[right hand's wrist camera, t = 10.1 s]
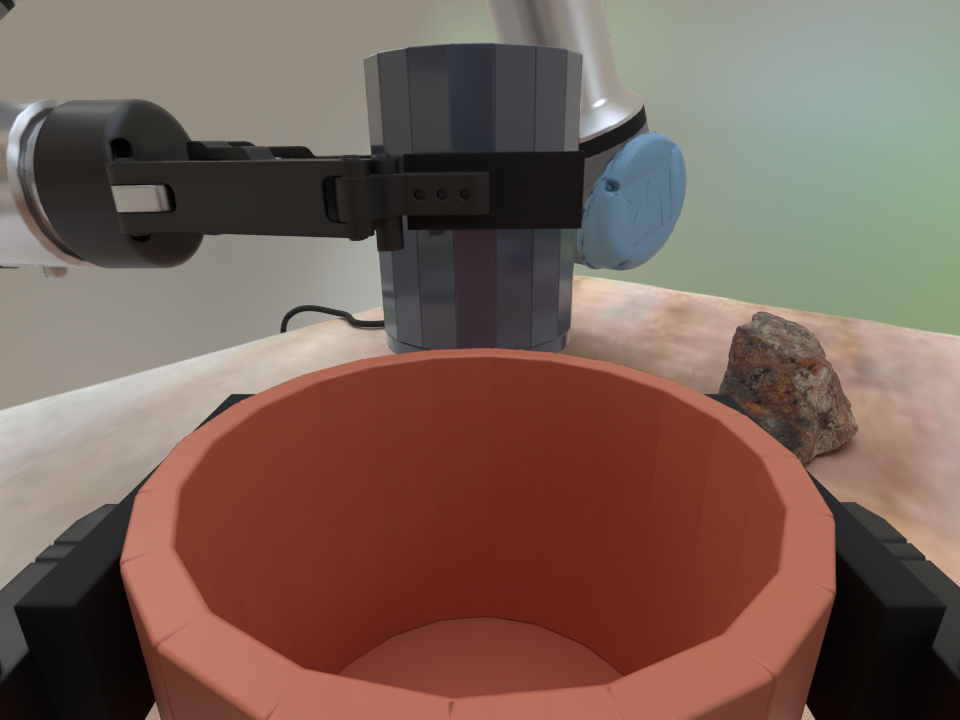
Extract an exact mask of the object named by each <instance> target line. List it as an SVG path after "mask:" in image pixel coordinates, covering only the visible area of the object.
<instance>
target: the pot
mask: <svg viewBox="0 0 960 720" xmlns="http://www.w3.org/2000/svg"><path fill="white" fill-rule="evenodd" d="M833 518H834V517H833V514H832V512H831V511H830V509H829V507H828V506H827V504H826V503H825V501H824V499H823V498H822V496H821V494H820V493H819V491H818V490H817V488H816V486H815V485H814V483H813V481H812V480H811V478H810V477H809V475H808V473H807V472H806V470H805V468H804V467H803V465H802V463H801V462H800V460H799V459H797V457H796V456H795V455H794V454H793V453H792V452H790V451H789V450H788V449H787V448H785V447H784V446H783V445H782V444H780V443H779V442H778V441H777V440H775V439H774V438H773V437H772V436H771V435H769V434H768V433H767V432H766V431H764V430H763V429H762V428H761V427H759V426H758V425H757V424H756V423H754V422H753V421H752V420H751V419H749V418H748V417H747V416H746V415H742V414H741V413H740V412H738V411H736V410H734V409H732V408H730V407H728V406H726V405H724V404H722V403H720V402H718V401H716V400H714V399H712V398H710V397H708V396H706V395H704V394H702V393H700V392H698V391H695V390H693V389H691V388H689V387H687V386H685V385H682V384H680V383H677V382H674V381H671V380H668V379H665V378H661V377H658V376H655V375H652V374H649V373H645V372H642V371H639V370H636V369H633V368H630V367H626V366H623V365H618V364H616V363H610V362H605V361H599V360H594V359H588V358H583V357H577V356H572V355H566V354H561V353H553V352H539V351H525V350H511V349H497V348H493V349H491V348H477V349H446V350H429V351H426V350H425V351H418V352H411V353H404V354H397V355H390V356H382V357H375V358H368V359H365V360H363V359H362V360H358V361H354V362H350V363H346V364H343V365H339V366H335V367H331V368H327V369H324V370H320V371H316V372H312V373H308V374H304V375H302V376H301V377H296V378H294V379H292V380H289V381H287V382H284V383H282V384H280V385H277V386H275V387H273V388H270V389H268V390H265V391H263V392H261V393H258V394H256V395H254V396H251V397H249V398H246V399H244V400H242V401H240V402H239V403H236V404H234V405H233V406H231V407H230V408H228V409H227V410H225V411H224V412H222V413H221V414H219V415H218V416H216V417H215V418H213V419H212V420H210V421H209V422H207V423H206V424H204V425H203V426H201V427H200V428H198V429H197V430H195V431H194V432H192V433H191V434H189V435H188V436H186V437H185V438H184V439H183V440H182V441H181V442H179V443H178V444H177V445H176V446H175V448H174V449H173V450H172V451H171V452H170V454H169V455H168V456H167V457H166V458H165V460H164V461H163V462H162V463H161V464H160V466H159V467H158V468H157V469H156V470H155V472H154V473H153V474H152V475H151V476H150V478H149V479H148V480H147V481H146V482H145V484H144V485H143V486H142V487H141V489H140V490H139V491H138V495H136V497H135V501H134V505H133V509H132V513H131V518H130V522H129V526H128V530H127V535H126V539H125V543H124V547H123V551H122V556H121V560H120V567H121V570H120V572H121V576H122V579H123V583H124V587H125V590H126V594H127V598H128V601H129V605H130V609H131V612H132V616H133V620H134V623H135V627H136V630H137V634H138V638H139V641H140V645H141V649H142V652H143V656H144V660H145V663H146V667H147V671H148V674H149V678H150V682H151V685H152V689H153V692H154V696H155V700H156V703H157V707H158V711H159V714H160V718H161V720H801V718H802V714H803V711H804V707H805V704H806V700H807V696H808V693H809V689H810V685H811V682H812V678H813V675H814V671H815V667H816V664H817V660H818V657H819V653H820V649H821V646H822V642H823V638H824V635H825V631H826V628H827V624H828V620H829V617H830V613H831V610H832V606H833V602H834V599H835V595H836V554H835V522H834V519H833Z"/></svg>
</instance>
